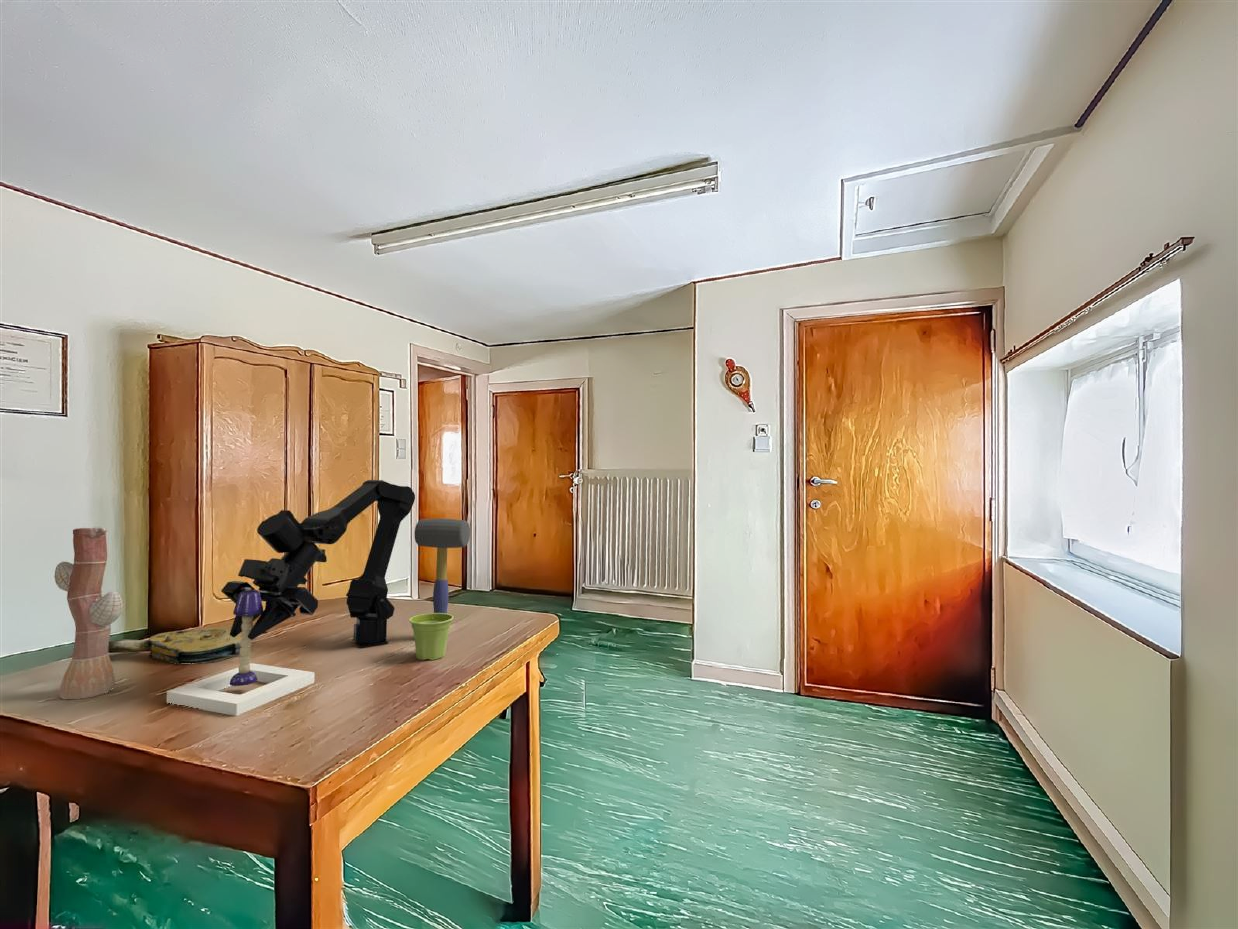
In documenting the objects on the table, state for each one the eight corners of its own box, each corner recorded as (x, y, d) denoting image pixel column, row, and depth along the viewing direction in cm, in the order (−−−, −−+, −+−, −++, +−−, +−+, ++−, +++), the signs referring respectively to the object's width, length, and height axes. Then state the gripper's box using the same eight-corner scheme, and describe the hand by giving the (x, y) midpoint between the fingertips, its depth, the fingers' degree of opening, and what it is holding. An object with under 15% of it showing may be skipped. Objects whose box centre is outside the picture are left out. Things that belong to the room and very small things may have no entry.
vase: (127, 687, 103) (134, 526, 104) (80, 702, 96) (88, 529, 97) (86, 681, 106) (94, 524, 107) (38, 695, 99) (46, 527, 100)
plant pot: (424, 666, 118) (425, 625, 118) (399, 657, 124) (401, 618, 124) (460, 655, 126) (461, 617, 126) (436, 647, 131) (437, 610, 132)
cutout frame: (250, 673, 112) (251, 663, 112) (314, 682, 107) (314, 672, 108) (166, 703, 97) (166, 691, 97) (236, 716, 92) (236, 703, 92)
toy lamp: (245, 676, 105) (248, 588, 105) (267, 678, 104) (269, 589, 105) (223, 685, 100) (226, 593, 101) (246, 687, 100) (249, 594, 100)
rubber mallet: (408, 641, 136) (412, 518, 137) (422, 632, 143) (425, 516, 144) (458, 643, 135) (461, 520, 136) (468, 634, 142) (472, 518, 143)
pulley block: (125, 620, 126) (269, 617, 131) (127, 644, 127) (270, 641, 132) (76, 648, 112) (239, 644, 117) (78, 675, 113) (240, 670, 118)
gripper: (231, 540, 109) (171, 609, 98) (307, 545, 104) (252, 618, 93) (266, 573, 117) (213, 640, 106) (338, 579, 111) (290, 651, 101)
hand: (240, 637), depth 101 cm, fingers closed on toy lamp, 4 cm apart
